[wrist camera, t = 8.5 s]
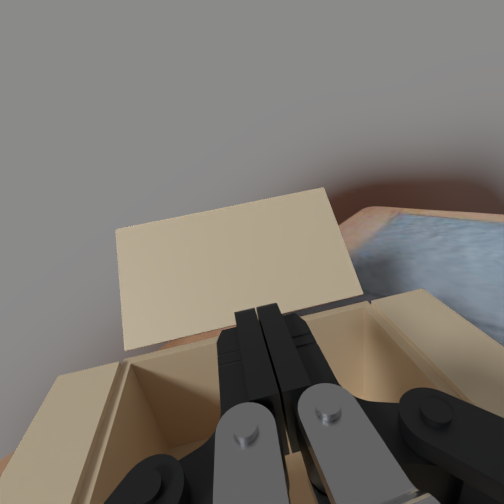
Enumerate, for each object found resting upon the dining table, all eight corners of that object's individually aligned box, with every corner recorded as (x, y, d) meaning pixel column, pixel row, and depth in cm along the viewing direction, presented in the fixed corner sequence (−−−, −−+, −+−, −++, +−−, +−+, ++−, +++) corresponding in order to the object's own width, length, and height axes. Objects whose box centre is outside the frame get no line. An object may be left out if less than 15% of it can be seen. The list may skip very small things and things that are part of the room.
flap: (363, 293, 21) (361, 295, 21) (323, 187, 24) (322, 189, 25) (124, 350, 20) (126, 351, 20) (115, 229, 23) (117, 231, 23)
